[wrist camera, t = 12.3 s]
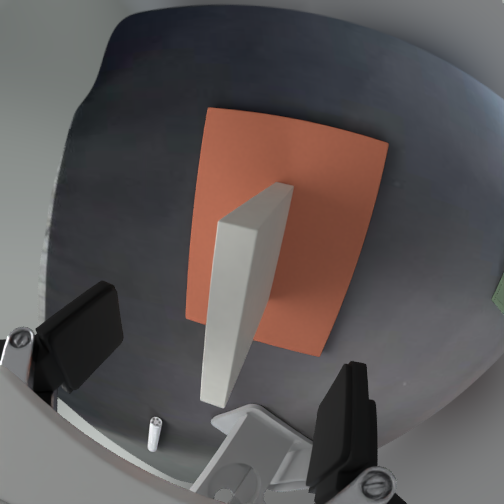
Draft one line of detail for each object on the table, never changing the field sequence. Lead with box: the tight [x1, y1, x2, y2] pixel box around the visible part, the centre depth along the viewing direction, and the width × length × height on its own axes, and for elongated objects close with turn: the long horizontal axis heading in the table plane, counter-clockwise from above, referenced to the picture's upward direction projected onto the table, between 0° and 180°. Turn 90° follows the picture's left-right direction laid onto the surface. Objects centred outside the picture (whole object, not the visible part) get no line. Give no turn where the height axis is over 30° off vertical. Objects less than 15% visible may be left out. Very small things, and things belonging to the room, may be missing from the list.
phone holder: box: [190, 404, 313, 504], centre depth 25 cm, size 17×10×18 cm, turn 46°
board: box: [200, 182, 294, 408], centre depth 16 cm, size 10×1×12 cm, turn 171°
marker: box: [148, 417, 162, 452], centre depth 41 cm, size 18×2×2 cm, turn 161°
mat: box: [186, 107, 389, 357], centre depth 22 cm, size 20×14×1 cm
